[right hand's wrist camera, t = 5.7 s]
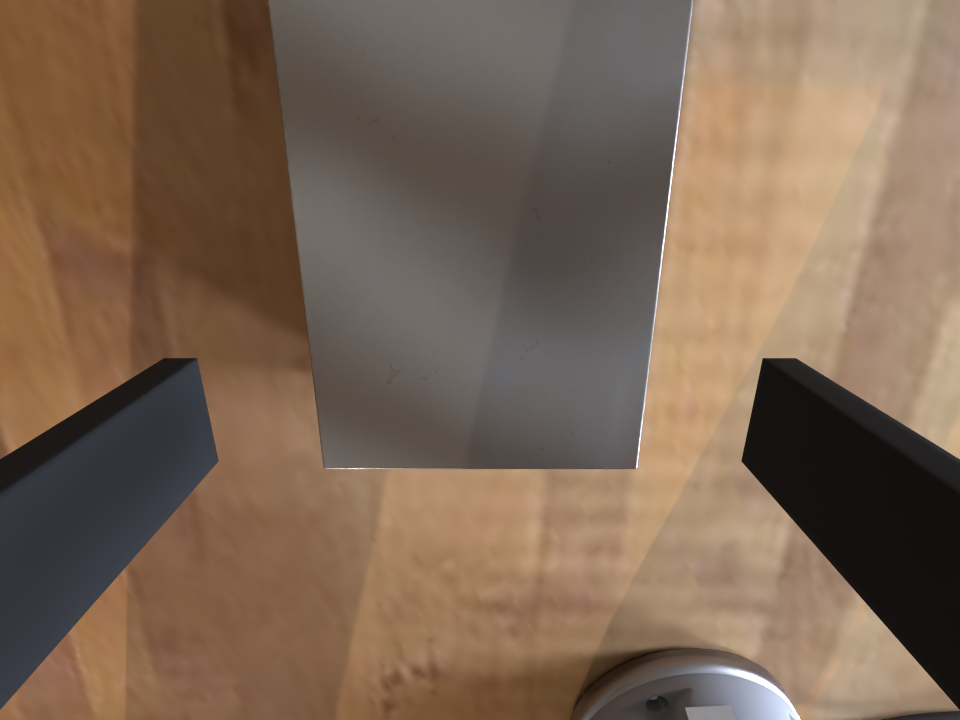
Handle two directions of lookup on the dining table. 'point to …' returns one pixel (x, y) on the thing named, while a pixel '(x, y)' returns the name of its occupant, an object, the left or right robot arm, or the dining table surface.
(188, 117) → the dining table surface
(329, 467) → the cabinet
